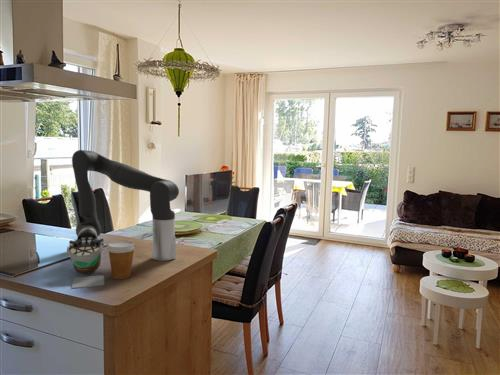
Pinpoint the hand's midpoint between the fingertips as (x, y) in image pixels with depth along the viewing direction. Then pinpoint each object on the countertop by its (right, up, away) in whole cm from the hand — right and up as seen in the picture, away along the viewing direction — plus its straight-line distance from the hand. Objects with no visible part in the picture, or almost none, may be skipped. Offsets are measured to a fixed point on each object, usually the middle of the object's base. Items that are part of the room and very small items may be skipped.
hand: (85, 248), depth 138 cm
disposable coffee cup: (+14, -10, -2) cm, 17 cm away
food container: (0, -8, +1) cm, 8 cm away
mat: (+5, -10, -9) cm, 14 cm away
